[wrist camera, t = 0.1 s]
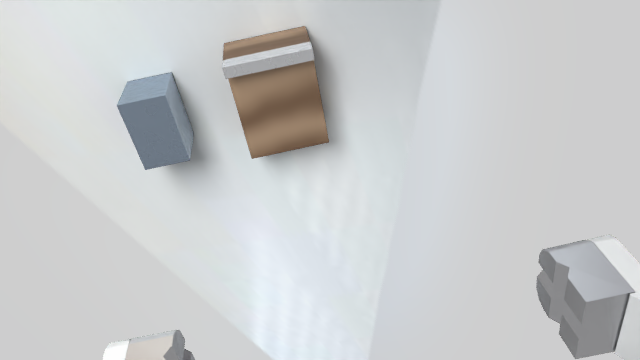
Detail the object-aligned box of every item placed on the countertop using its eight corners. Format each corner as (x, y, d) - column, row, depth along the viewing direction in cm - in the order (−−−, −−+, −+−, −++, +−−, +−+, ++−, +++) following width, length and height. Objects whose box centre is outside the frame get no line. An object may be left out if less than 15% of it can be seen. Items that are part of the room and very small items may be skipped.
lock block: (127, 81, 57) (116, 105, 52) (171, 72, 57) (165, 95, 52) (153, 142, 62) (145, 169, 57) (193, 133, 62) (189, 160, 57)
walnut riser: (224, 43, 56) (222, 67, 50) (305, 26, 56) (312, 48, 50) (251, 137, 63) (252, 168, 57) (323, 121, 63) (331, 151, 57)
